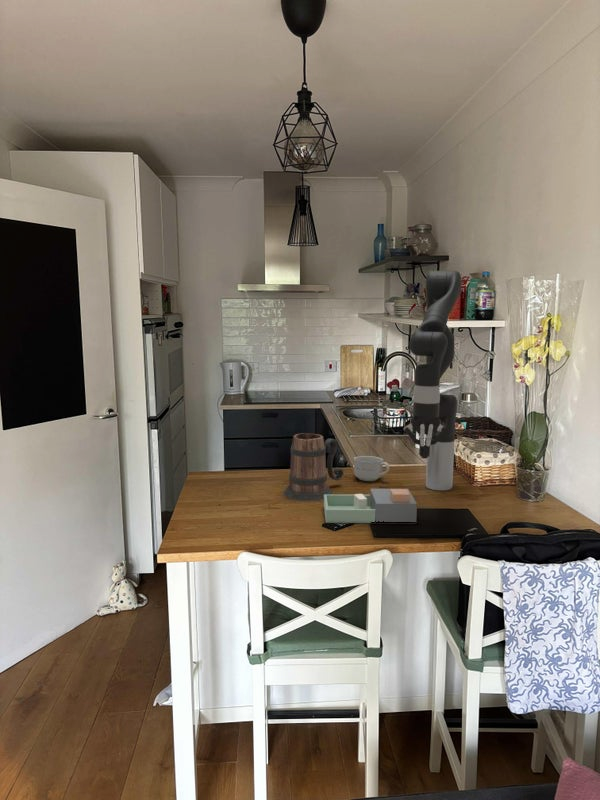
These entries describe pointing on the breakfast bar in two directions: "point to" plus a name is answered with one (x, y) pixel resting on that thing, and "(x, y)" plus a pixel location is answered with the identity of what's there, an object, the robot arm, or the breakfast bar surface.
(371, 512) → the box
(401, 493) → the terracotta tile
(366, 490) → the breakfast bar surface
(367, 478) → the teacup
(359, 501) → the cream tile
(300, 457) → the tankard
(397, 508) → the grey drawer casing
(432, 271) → the robot arm
